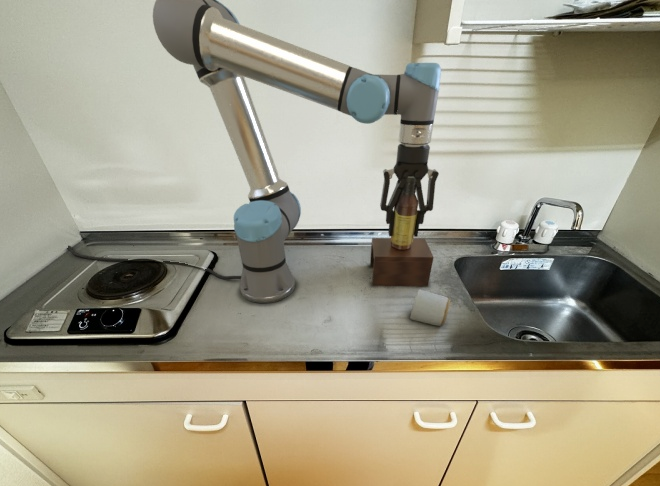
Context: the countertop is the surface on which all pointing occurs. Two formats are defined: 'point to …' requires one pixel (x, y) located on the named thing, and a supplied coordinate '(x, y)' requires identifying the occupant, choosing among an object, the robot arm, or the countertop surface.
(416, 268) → the wooden brown block
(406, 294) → the countertop surface
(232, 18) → the robot arm
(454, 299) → the countertop surface
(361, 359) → the countertop surface
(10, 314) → the countertop surface
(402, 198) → the sauce bottle
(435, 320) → the white cylinder
